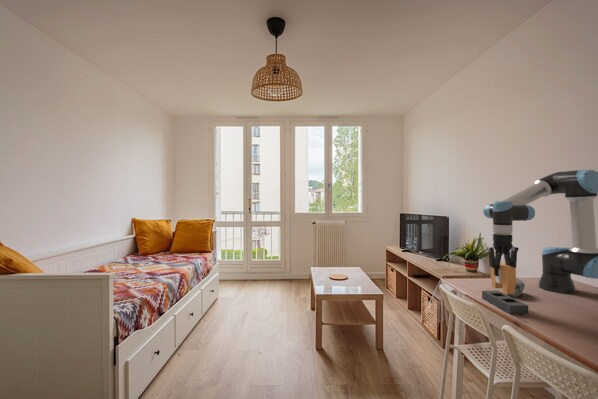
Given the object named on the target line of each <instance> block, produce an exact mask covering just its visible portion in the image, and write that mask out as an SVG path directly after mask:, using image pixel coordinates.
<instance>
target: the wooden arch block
mask: <svg viewBox="0 0 598 399" xmlns="http://www.w3.org/2000/svg"><path fill="white" fill-rule="evenodd" d="M499 269H500V270H501V284H499V283H497V282H496V276H495V275H494V268H492V267H490V280H491V287H492V288H494V289H502V293H504V294H506V295H508V294H515V287H516V278H517V267H516V268H514V267H511V266H508V265H506V263H505V264H504V263H502V262H500V267H499Z"/></svg>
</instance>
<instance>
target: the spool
mask: <svg viewBox="0 0 598 399" xmlns="http://www.w3.org/2000/svg"><path fill="white" fill-rule="evenodd" d="M524 290H525V283H524V282H523V281H522V280H521V279H519V278H517V277H516V287H515V294H507V295H508V296H510V297H512V298H516V297H517V298H518V297H520V295H521V294H522V293H523V292H524Z"/></svg>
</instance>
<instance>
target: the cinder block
mask: <svg viewBox="0 0 598 399" xmlns="http://www.w3.org/2000/svg"><path fill="white" fill-rule="evenodd" d="M481 299H482V300H484V301H485V302H487V303H489V304H491V305H493V306H494V307H496V308H498V309H500V310H501V311H503V312H505V313H507V314H508V315H509V316H511V315H512V314H528V315H529V305H528V304H526V303H524V302H522V301H520V300H518V299H516V298H515V297H512V296H510V295H508V294H506V293H504V292H503V291H500V290H481ZM512 316H513V315H512Z"/></svg>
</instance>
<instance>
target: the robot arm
mask: <svg viewBox="0 0 598 399" xmlns="http://www.w3.org/2000/svg"><path fill="white" fill-rule="evenodd" d="M555 194H556V195H557V194H564V197H565V199H567V200H568V201H569V212H570V225H571V226H570V227H571V228H570V229H571V240H572V241H571V243H572V244H571V245H572V246H571V247H566V246H564V247H561V246H560V247H559V246H558V247H555V246H551V247H544V248H543V249H542V253H541V259H542V262H541V263H542V274H541V276H540V279H539V281H538V287H539V288H540V289H542V290H545V291H550V292H554V293H560V294H574V293H576V286H575V284H574V281H573V279H572V276H571V275H576V276H581V277H584V278H589V279H590V278H591V279H593V280H595V279H596V280H597V279H598V247H597V237H596V235H597V234H596V222H595V205H594V200H595V199H596V198H598V171H596V170H595V169H578V170H567V171H558V172H554V173H551V174H548V175H545V176H544V177H541V178H539V179H537V180H535V181H534V182H533V183H532V184H531V185H530V186H528V187H526V188H524V189H522V190H520V191H518V192H516V193H514V194H513V195H510V196H507V198H505V199H503V200H500V201H499V200H498V201H497V200H496V201H494V202H493V203H492V204H486V205H485V206H484V207H483V212H482V213H483V216H484V217H486V218H488V219H492V233H493V234H492V242H493V244H492V246H487V247H486V249H487V252H488V264H489V267H490V268H491V267H492V268H494V275H495V276H496V282H497V283H499V284H501V270H500V269H499V267H500V263H501V261H502V257H503V258H504V263H505V265H508V266H511V267H514V268H516V269H517V261H518V260H517V259H518V258H517V257H518V251H519V247H516V246H514V245H513V222H516V221H519V222H521V221H524V222H526V221H530V220H533V219H534V218H535V216H536V210H535V208H534V207H533V206H531V205H529V204H531V203H533V202H535V201H536V200H538V199H540V198H542V197H544V198H545V197H548V196H550V195H555Z"/></svg>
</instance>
